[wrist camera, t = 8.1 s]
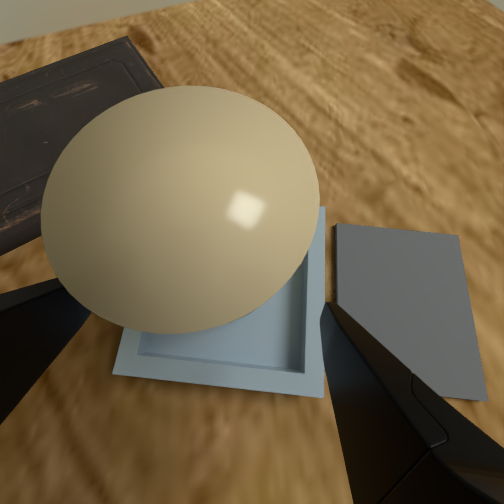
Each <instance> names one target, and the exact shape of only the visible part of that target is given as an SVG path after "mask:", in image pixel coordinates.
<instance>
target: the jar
mask: <svg viewBox="0 0 504 504" xmlns="http://www.w3.org/2000/svg"><path fill="white" fill-rule="evenodd" d="M319 201H320V195H319V185H318V179H317V175H316V171H315V167H314V164H313V162H312V160H311V157H310V155H309V152H308V151H307V149H306V147H305V145H304V144H303V142H302V140H301V139H300V138H299V136H298V135H297V134H296V132H295V131H294V130H293V129H292V128H291V127H290V126H289V125H288V124H287V123H286V122H285V121H284V120H283V119H282V118H281V117H280V116H279V115H277V114H276V113H275V112H273V111H272V110H271V109H269V108H268V107H266V106H264V105H263V104H261V103H259V102H258V101H255V100H253V99H251V98H249V97H247V96H244V95H242V94H238V93H235V92H232V91H229V90H224V89H220V88H214V87H205V86H177V87H168V88H162V89H157V90H153V91H149V92H146V93H142V94H139V95H136V96H134V97H131V98H129V99H126V100H124V101H122V102H120V103H118V104H116V105H114V106H112V107H111V108H109V109H107V110H106V111H104V112H103V113H101V114H100V115H98V116H97V117H95V118H94V119H93V120H92V121H91V122H89V123H88V124H87V125H86V126H85V127H83V128H82V129H81V130H80V132H79V133H78V134H77V135H76V136H75V137H74V138H73V139H72V140H71V141H70V143H69V144H68V145H67V146H66V148H65V149H64V150H63V152H62V153H61V155H60V157H59V158H58V160H57V162H56V163H55V165H54V167H53V169H52V172H51V174H50V176H49V178H48V181H47V184H46V188H45V191H44V195H43V200H42V208H41V233H42V238H43V244H44V248H45V251H46V254H47V257H48V260H49V263H50V265H51V266H52V268H53V270H54V272H55V274H56V276H57V277H58V279H59V280H60V282H61V283H62V284H63V286H64V287H65V288H66V289H67V291H68V292H69V293H70V294H71V295H72V296H73V297H74V298H75V299H76V300H77V301H78V302H80V303H81V304H82V305H83V306H84V307H86V308H87V309H89V310H90V311H92V312H93V313H95V314H96V315H98V316H99V317H101V318H103V319H106V320H108V321H110V322H112V323H114V324H116V325H119V326H122V327H126V328H129V329H133V330H136V331H142V332H149V333H156V334H183V333H190V332H197V331H203V330H207V329H210V328H214V327H217V326H221V325H224V324H228V323H230V322H233V321H235V320H237V319H240V318H243V317H245V316H248V315H249V314H251V313H252V312H253V311H255V310H256V309H258V308H259V307H260V306H261V305H263V304H264V303H265V302H266V301H268V300H269V299H270V298H271V297H272V296H273V295H275V294H276V293H277V292H278V291H279V290H280V289H281V288H282V287H283V285H284V284H285V283H286V282H287V281H288V280H289V279H290V278H291V277H292V275H293V274H294V272H295V271H296V270H297V268H298V267H299V265H300V264H301V263H302V261H303V259H304V257H305V255H306V253H307V251H308V249H309V247H310V245H311V242H312V239H313V236H314V233H315V231H316V226H317V221H318V216H319Z"/></svg>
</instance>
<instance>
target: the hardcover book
mask: <svg viewBox="0 0 504 504" xmlns="http://www.w3.org/2000/svg"><path fill="white" fill-rule="evenodd" d="M162 88H164V87H163V85H162V84H161V82H160V81H159V80H158V78H157V77H156V75H155V74H154V73H153V71H152V70H151V68H150V67H149V66H148V64H147V63H146V61H145V60H144V59H143V57H142V56H141V54H140V53H139V52H138V50H137V49H136V47H135V46H134V45H133V43H132V42H131V40H130V39H129V38H128V36H124V37H122V38H119V39H116V40H114V41H111V42H108V43H105V44H103V45H100V46H97V47H95V48H92V49H89V50H87V51H84V52H81V53H79V54H76V55H73V56H70V57H68V58H65V59H62V60H60V61H57V62H54V63H52V64H49V65H46V66H44V67H41V68H38V69H35V70H33V71H30V72H27V73H25V74H22V75H19V76H17V77H14V78H11V79H9V80H6V81H3V82H0V256H1V255H3V254H5V253H7V252H9V251H11V250H13V249H15V248H17V247H19V246H21V245H23V244H25V243H27V242H29V241H31V240H33V239H35V238H37V237H39V236H41V235H42V233H41V208H42V200H43V195H44V191H45V188H46V184H47V181H48V178H49V176H50V174H51V172H52V169H53V167H54V165H55V163H56V162H57V160H58V158H59V157H60V155H61V153H62V152H63V150H64V149H65V148H66V146H67V145H68V144H69V143H70V141H71V140H72V139H73V138H74V137H75V136H76V135H77V134H78V133H79V132H80V130H81V129H82V128H83V127H85V126H86V125H87V124H88V123H89V122H91V121H92V120H93V119H94V118H95V117H97V116H98V115H100V114H101V113H103V112H104V111H106V110H107V109H109V108H111V107H112V106H114V105H116V104H118V103H120V102H122V101H124V100H126V99H129V98H131V97H134V96H136V95H139V94H142V93H146V92H149V91H153V90H157V89H162Z"/></svg>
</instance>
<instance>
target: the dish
mask: <svg viewBox="0 0 504 504" xmlns="http://www.w3.org/2000/svg"><path fill="white" fill-rule="evenodd" d="M324 304H325V207H323V206H319V216H318V221H317V226H316V231H315V233H314V236H313V239H312V242H311V245H310V247H309V249H308V251H307V253H306V255H305V257H304V259H303V261H302V263H301V264H300V265H299V267H298V268H297V270H296V271H295V272H294V274H293V275H292V277H291V278H290V279H289V280H288V281H287V282H286V283H285V284H284V285H283V287H282V288H281V289H280V290H279V291H278V292H277V293H276V294H275V295H273V296H272V297H271V298H270V299H269V300H268V301H266V302H265V303H264V304H263V305H261V306H260V307H259V308H258V309H256V310H255V311H253V312H252V313H251V314H249V315H248V316H245V317H243V318H240V319H237V320H235V321H233V322H230V323H228V324H224V325H221V326H217V327H214V328H210V329H207V330H203V331H197V332H190V333H183V334H156V333H149V332H142V331H136V330H133V329H129V328H126V327H124V330H123V334H122V338H121V342H120V346H119V350H118V353H117V357H116V361H115V365H114V369H113V373H112V374H116V375H125V376H134V377H142V378H151V379H160V380H169V381H178V382H186V383H195V384H204V385H213V386H221V387H230V388H239V389H248V390H257V391H265V392H274V393H283V394H292V395H301V396H309V397H318V398H324V362H323V354H322V344H321V333H320V316H321V313H322V310H323V307H324Z"/></svg>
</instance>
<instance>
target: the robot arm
mask: <svg viewBox="0 0 504 504" xmlns="http://www.w3.org/2000/svg"><path fill="white" fill-rule="evenodd" d="M91 312H92V311H90V310H89V309H87V308H86V307H84V306H83V305H82V304H81V303H80V302H78V301H77V300H76V299H75V298H74V297H73V296H72V295H71V294H70V293H69V292H68V291H67V289H66V288H65V287H64V286H63V284H62V283H61V282H60V280H59V279H58V278H55V279H51V280H48V281H44V282H41V283H37V284H34V285H30V286H27V287H23V288H20V289H17V290H13V291H10V292H6V293H3V294H0V425H1V424H2V422H3V421H4V420H5V419H6V418H7V416H8V415H9V414H10V413H11V411H12V410H13V409H14V408H15V407H16V405H17V404H18V403H19V402H20V401H21V399H22V398H23V397H24V396H25V395H26V393H27V392H28V391H29V390H30V388H31V387H32V386H33V385H34V384H35V382H36V381H37V380H38V379H39V378H40V376H41V375H42V374H43V373H44V371H45V370H46V369H47V368H48V367H49V365H50V364H51V363H52V362H53V361H54V359H55V358H56V357H57V356H58V354H59V353H60V352H61V351H62V350H63V348H64V347H65V346H66V345H67V344H68V342H69V341H70V340H71V339H72V337H73V336H74V335H75V334H76V333H77V331H78V330H79V329H80V328H81V326H82V325H83V324H84V322H85V321H86V320H87V318H88V317H89V315H90V314H91ZM320 333H321V344H322V354H323V362H324V367H325V372H326V376H327V381H328V386H329V391H330V395H331V400H332V405H333V409H334V414H335V419H336V423H337V428H338V433H339V438H340V442H341V447H342V452H343V456H344V461H345V466H346V471H347V475H348V480H349V485H350V489H351V494H352V499H353V504H504V448H503V447H502V446H500V445H499V444H498V443H497V442H495V441H494V440H493V439H492V438H490V437H489V436H488V435H487V434H485V433H484V432H483V431H482V430H480V429H479V428H478V427H477V426H476V425H474V424H473V423H472V422H471V421H469V420H468V419H467V418H466V417H464V416H463V415H462V414H461V413H460V412H458V411H457V410H456V409H455V408H454V407H452V406H451V405H450V404H449V403H448V402H446V401H445V400H444V399H443V398H442V397H440V396H439V395H438V394H437V393H436V392H435V391H434V390H432V389H431V388H430V387H429V386H428V385H427V384H426V383H425V382H423V381H422V380H421V379H420V378H419V377H418V376H417V375H416V374H414V373H412V371H411V370H410V369H409V368H408V367H407V366H406V365H404V364H403V363H402V362H401V361H400V360H399V359H398V358H397V357H396V356H395V355H393V354H392V353H391V352H390V351H389V350H388V349H387V348H386V347H385V346H383V345H382V344H381V343H380V342H379V341H378V340H377V339H376V338H375V337H374V336H372V335H371V334H370V333H369V332H368V331H367V330H366V329H365V328H364V327H362V326H361V325H360V324H359V323H358V322H357V321H356V320H355V319H354V318H352V317H351V316H350V315H349V314H348V313H347V312H346V311H345V310H344V309H343V308H341V307H340V306H339V305H338V304H337V303H333V302H326V303H325V304H324V307H323V310H322V313H321V316H320Z"/></svg>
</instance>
